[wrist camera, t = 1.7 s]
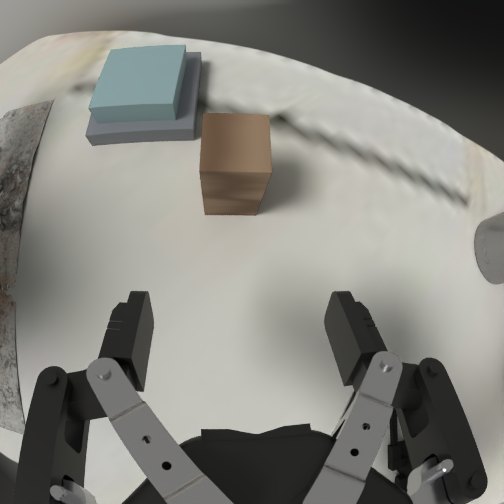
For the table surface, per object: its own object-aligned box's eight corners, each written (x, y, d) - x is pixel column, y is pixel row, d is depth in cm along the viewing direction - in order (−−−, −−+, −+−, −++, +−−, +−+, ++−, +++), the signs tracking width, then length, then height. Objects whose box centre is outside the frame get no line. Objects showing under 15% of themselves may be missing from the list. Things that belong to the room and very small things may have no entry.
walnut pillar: (254, 169, 32) (269, 115, 22) (255, 215, 31) (271, 172, 21) (206, 169, 32) (203, 113, 22) (204, 214, 31) (199, 171, 21)
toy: (408, 543, 26) (440, 388, 30) (424, 561, 21) (470, 400, 24) (362, 561, 26) (384, 406, 29) (375, 582, 20) (411, 424, 23)
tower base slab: (201, 67, 35) (201, 52, 32) (194, 143, 33) (192, 128, 30) (113, 73, 34) (108, 59, 31) (94, 148, 31) (85, 135, 29)
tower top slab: (186, 62, 31) (185, 44, 29) (175, 120, 30) (172, 103, 27) (116, 65, 31) (110, 49, 28) (96, 123, 29) (88, 108, 26)
